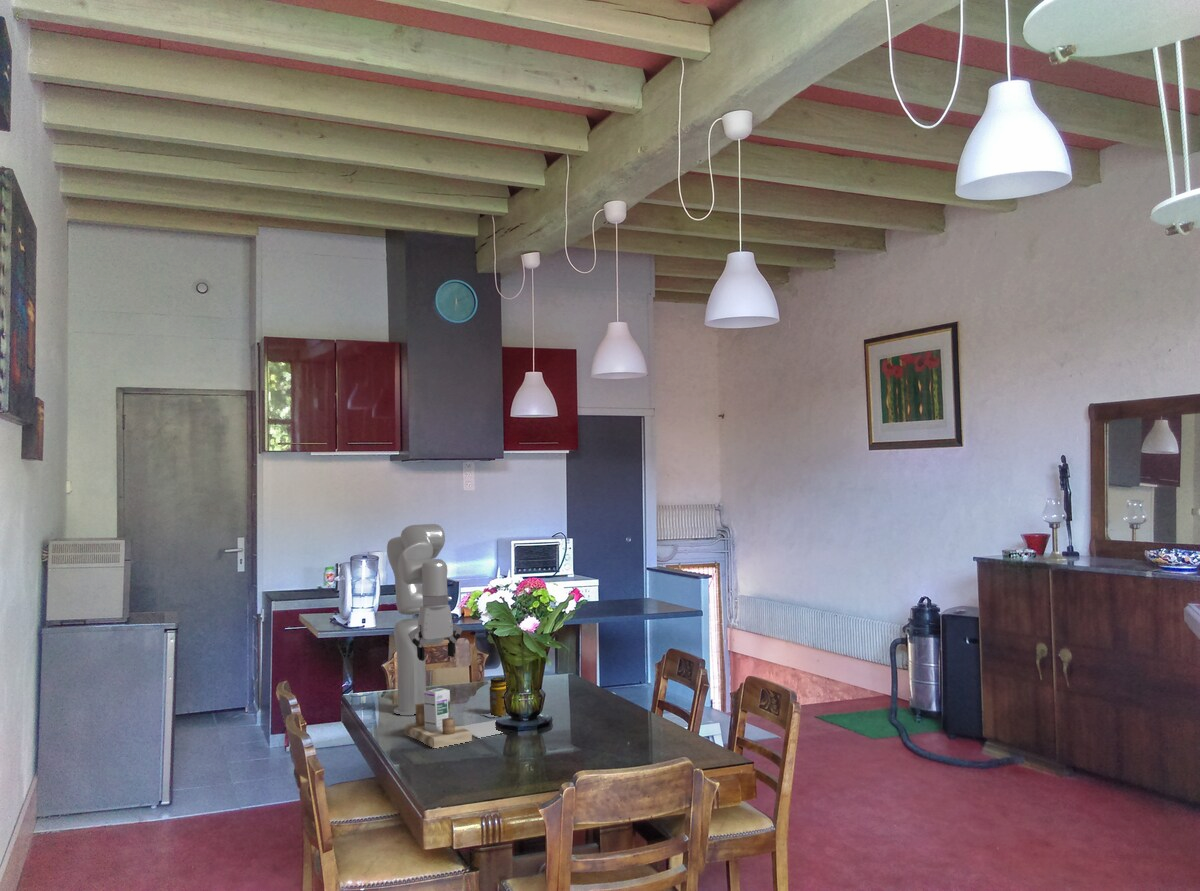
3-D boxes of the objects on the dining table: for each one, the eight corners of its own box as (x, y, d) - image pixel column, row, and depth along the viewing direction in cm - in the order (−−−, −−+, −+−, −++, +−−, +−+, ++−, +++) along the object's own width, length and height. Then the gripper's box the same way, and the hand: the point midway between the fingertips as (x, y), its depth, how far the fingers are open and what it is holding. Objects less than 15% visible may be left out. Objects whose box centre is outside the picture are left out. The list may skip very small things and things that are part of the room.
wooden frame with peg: (405, 734, 290) (404, 705, 290) (441, 728, 296) (440, 699, 297) (434, 748, 271) (433, 717, 272) (471, 741, 278) (471, 711, 279)
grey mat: (455, 729, 295) (455, 727, 295) (501, 721, 304) (501, 719, 304) (478, 738, 281) (478, 736, 281) (525, 730, 290) (524, 728, 290)
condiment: (513, 715, 312) (512, 678, 313) (490, 719, 307) (489, 681, 308) (503, 711, 318) (502, 675, 319) (480, 715, 313) (479, 678, 314)
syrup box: (436, 741, 280) (435, 692, 281) (424, 738, 284) (423, 690, 285) (451, 737, 284) (450, 689, 285) (439, 734, 288) (438, 687, 289)
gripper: (455, 598, 294) (457, 653, 293) (403, 603, 285) (404, 660, 284) (466, 599, 288) (467, 656, 287) (413, 604, 278) (414, 663, 277)
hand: (436, 658), depth 285 cm, fingers open, 9 cm apart
